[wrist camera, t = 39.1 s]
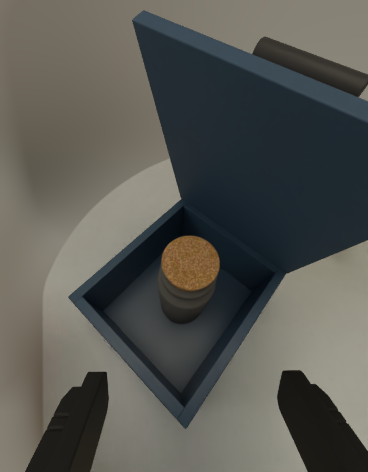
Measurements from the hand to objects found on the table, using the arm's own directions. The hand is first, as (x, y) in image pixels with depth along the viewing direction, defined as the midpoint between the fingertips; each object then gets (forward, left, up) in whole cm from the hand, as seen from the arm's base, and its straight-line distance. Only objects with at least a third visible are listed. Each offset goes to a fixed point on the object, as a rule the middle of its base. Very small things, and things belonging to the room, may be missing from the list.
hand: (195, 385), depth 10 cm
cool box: (+7, +4, -20) cm, 22 cm away
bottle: (+7, +4, -19) cm, 21 cm away
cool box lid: (+13, +3, -1) cm, 13 cm away
